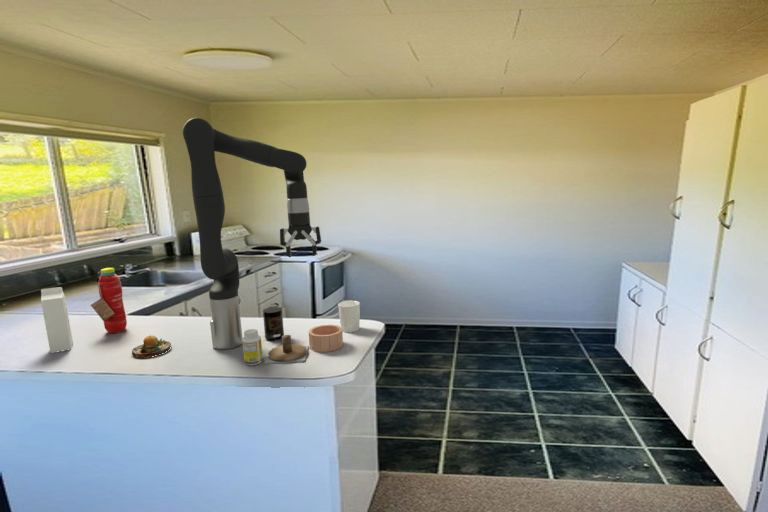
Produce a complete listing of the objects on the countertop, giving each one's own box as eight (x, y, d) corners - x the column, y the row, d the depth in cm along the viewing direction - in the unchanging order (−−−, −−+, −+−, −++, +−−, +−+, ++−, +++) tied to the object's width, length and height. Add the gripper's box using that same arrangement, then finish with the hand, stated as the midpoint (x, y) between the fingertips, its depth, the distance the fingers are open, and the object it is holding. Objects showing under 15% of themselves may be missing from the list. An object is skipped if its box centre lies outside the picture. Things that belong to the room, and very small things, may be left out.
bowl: (308, 353, 144) (307, 337, 143) (311, 340, 155) (310, 325, 154) (342, 351, 145) (341, 334, 144) (343, 338, 156) (342, 323, 155)
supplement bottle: (256, 357, 143) (253, 326, 141) (266, 361, 139) (263, 330, 137) (240, 363, 139) (237, 331, 137) (251, 367, 135) (248, 335, 133)
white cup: (357, 333, 161) (356, 306, 159) (336, 332, 162) (335, 306, 161) (363, 326, 168) (362, 300, 167) (343, 325, 170) (341, 300, 168)
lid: (265, 363, 137) (263, 344, 136) (272, 348, 149) (270, 331, 148) (304, 360, 138) (303, 342, 137) (308, 346, 150) (307, 328, 149)
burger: (175, 344, 158) (173, 324, 157) (165, 357, 146) (163, 335, 145) (139, 347, 156) (136, 327, 155) (126, 361, 144) (123, 339, 143)
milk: (71, 349, 156) (61, 288, 151) (50, 353, 153) (39, 291, 149) (73, 344, 161) (63, 285, 157) (52, 348, 158) (42, 287, 154)
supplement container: (279, 333, 164) (277, 305, 162) (287, 338, 159) (285, 309, 157) (262, 337, 160) (259, 309, 159) (269, 342, 155) (266, 314, 153)
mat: (265, 364, 137) (265, 362, 137) (272, 349, 149) (272, 348, 149) (305, 361, 138) (305, 360, 138) (308, 346, 150) (308, 345, 150)
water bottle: (108, 338, 165) (98, 272, 161) (91, 337, 168) (81, 272, 163) (134, 327, 177) (125, 266, 172) (118, 326, 179) (109, 265, 174)
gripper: (276, 213, 154) (280, 259, 157) (317, 211, 154) (321, 257, 157) (279, 211, 161) (283, 255, 164) (319, 209, 162) (322, 253, 165)
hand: (302, 256), depth 161 cm, fingers open, 8 cm apart
